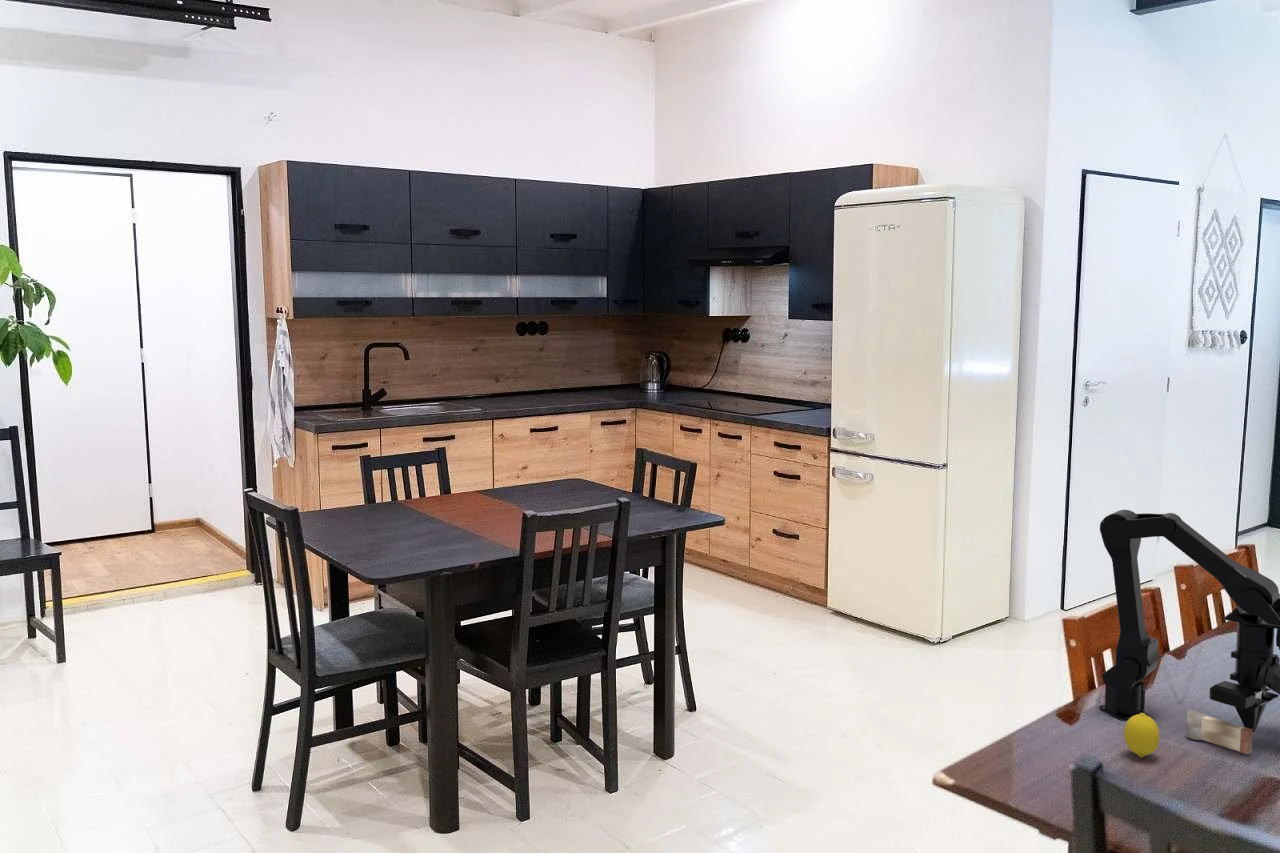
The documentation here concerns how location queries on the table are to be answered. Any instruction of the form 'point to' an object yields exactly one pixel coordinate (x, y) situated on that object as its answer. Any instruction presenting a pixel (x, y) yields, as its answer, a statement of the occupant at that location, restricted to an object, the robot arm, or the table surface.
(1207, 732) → the cream brown-tipped bar
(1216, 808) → the table surface
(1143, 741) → the lemon
